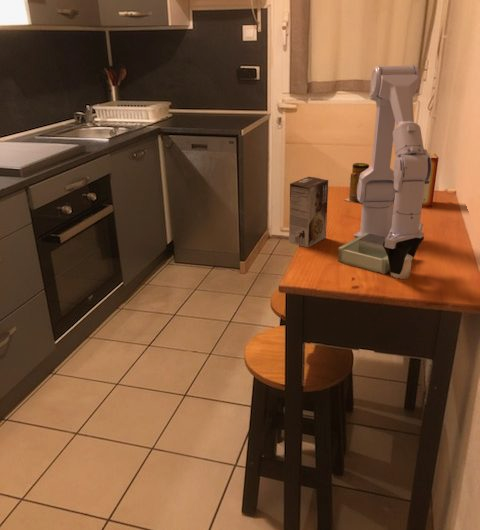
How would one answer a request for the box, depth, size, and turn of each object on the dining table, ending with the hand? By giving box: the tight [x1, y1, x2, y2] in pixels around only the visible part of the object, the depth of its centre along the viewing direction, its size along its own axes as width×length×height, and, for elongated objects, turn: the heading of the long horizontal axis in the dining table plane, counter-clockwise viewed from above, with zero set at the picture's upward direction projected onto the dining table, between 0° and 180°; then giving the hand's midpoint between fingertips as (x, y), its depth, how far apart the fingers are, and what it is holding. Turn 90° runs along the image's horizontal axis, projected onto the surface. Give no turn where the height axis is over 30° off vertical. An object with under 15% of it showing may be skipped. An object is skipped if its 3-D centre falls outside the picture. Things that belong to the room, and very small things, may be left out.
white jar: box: [389, 254, 414, 280], centre depth 113 cm, size 5×5×4 cm
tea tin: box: [358, 234, 387, 259], centre depth 121 cm, size 5×8×5 cm, turn 49°
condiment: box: [344, 162, 370, 204], centre depth 168 cm, size 7×8×12 cm
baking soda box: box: [422, 153, 440, 207], centre depth 162 cm, size 10×6×16 cm
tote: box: [337, 233, 390, 275], centre depth 122 cm, size 13×12×4 cm
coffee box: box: [288, 176, 329, 248], centre depth 132 cm, size 9×6×16 cm
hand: (400, 269), depth 114 cm, fingers closed on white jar, 4 cm apart
